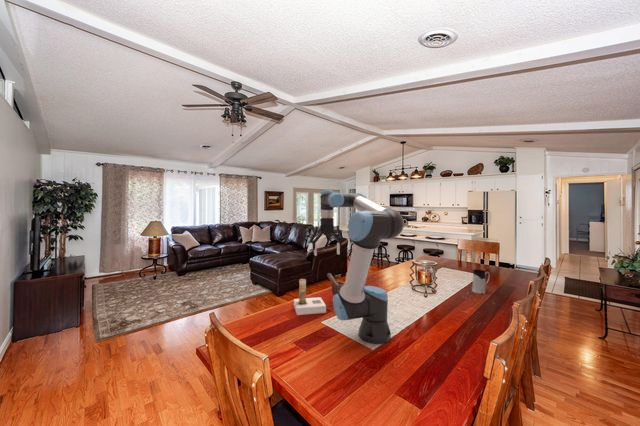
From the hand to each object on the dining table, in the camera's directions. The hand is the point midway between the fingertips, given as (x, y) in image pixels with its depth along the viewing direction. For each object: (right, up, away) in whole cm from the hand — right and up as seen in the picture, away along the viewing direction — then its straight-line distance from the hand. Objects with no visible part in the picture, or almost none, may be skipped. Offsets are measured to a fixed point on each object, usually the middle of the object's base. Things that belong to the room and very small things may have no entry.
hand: (326, 254), depth 151 cm
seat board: (-10, -34, +8) cm, 36 cm away
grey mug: (+114, -33, +42) cm, 126 cm away
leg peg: (-14, -34, +7) cm, 37 cm away
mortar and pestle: (+6, -34, +16) cm, 38 cm away
